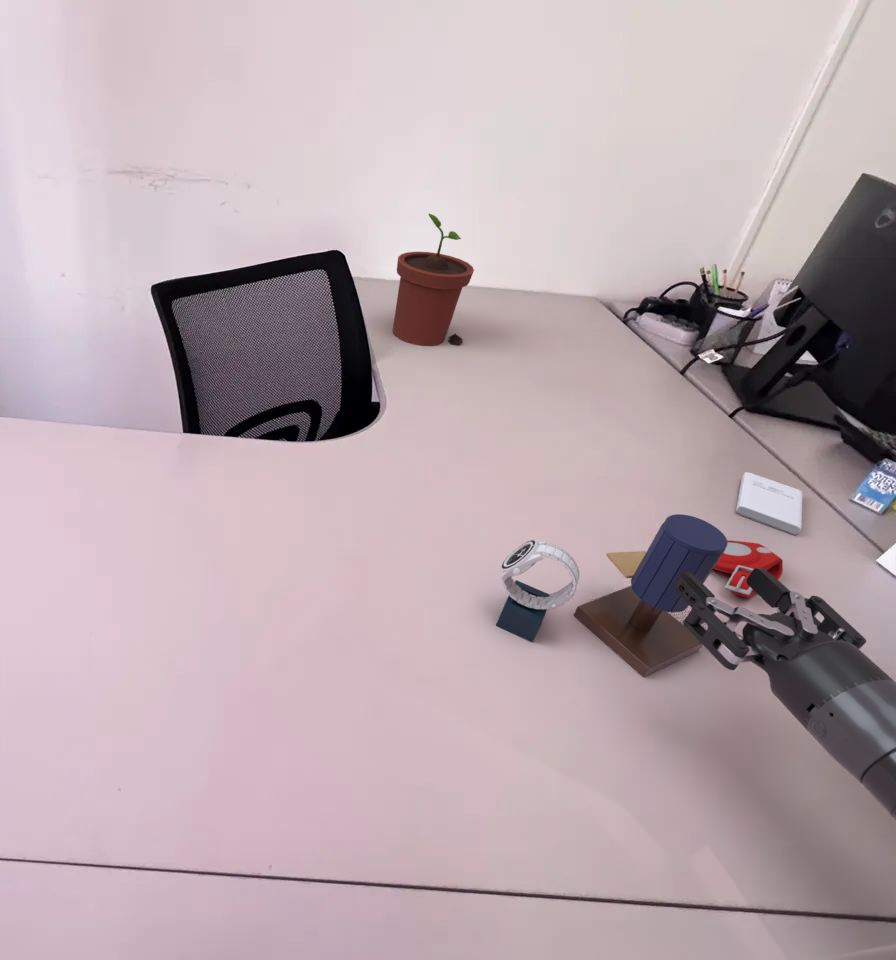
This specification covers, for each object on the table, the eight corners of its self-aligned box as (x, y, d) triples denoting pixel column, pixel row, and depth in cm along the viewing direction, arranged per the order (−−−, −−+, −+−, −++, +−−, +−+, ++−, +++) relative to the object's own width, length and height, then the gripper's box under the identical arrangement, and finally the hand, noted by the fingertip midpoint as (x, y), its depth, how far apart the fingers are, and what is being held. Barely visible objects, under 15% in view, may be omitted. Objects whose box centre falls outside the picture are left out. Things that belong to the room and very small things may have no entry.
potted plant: (363, 325, 151) (385, 209, 137) (427, 310, 163) (453, 201, 148) (422, 356, 140) (453, 233, 126) (486, 337, 152) (521, 223, 137)
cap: (700, 610, 74) (741, 549, 69) (652, 614, 73) (690, 552, 68) (646, 553, 82) (679, 494, 77) (602, 555, 81) (633, 495, 76)
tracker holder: (683, 537, 95) (758, 528, 94) (681, 564, 96) (754, 556, 95) (737, 581, 83) (823, 572, 82) (733, 611, 85) (818, 603, 84)
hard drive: (734, 513, 103) (741, 478, 111) (796, 536, 99) (798, 498, 108) (739, 505, 102) (745, 470, 110) (802, 528, 98) (804, 490, 107)
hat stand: (627, 593, 86) (681, 499, 77) (699, 650, 79) (767, 554, 70) (573, 614, 82) (622, 518, 73) (643, 677, 74) (707, 578, 66)
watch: (492, 591, 84) (520, 522, 77) (558, 620, 81) (592, 551, 74) (479, 618, 80) (507, 548, 73) (548, 650, 76) (583, 579, 70)
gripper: (954, 676, 55) (795, 545, 68) (809, 689, 52) (672, 550, 65) (896, 731, 59) (757, 598, 72) (759, 746, 57) (640, 605, 70)
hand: (717, 575), depth 69 cm, fingers open, 8 cm apart
